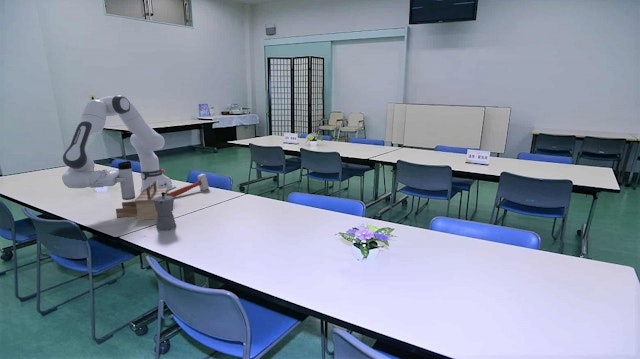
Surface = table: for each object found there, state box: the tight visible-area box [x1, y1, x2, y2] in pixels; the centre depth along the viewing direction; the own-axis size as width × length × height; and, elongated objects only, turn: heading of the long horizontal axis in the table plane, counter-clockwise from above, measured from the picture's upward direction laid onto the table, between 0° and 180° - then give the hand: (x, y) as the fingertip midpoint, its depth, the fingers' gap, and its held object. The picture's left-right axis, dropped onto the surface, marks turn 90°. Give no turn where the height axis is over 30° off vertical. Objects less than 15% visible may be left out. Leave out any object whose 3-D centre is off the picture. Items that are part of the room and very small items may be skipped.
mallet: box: [167, 173, 209, 198], centre depth 234 cm, size 11×4×30 cm
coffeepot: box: [153, 192, 177, 232], centre depth 175 cm, size 15×9×18 cm, turn 13°
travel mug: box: [117, 160, 136, 201], centre depth 191 cm, size 6×7×20 cm
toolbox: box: [115, 180, 169, 221], centre depth 195 cm, size 23×23×16 cm
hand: (128, 177), depth 190 cm, fingers closed on travel mug, 6 cm apart
